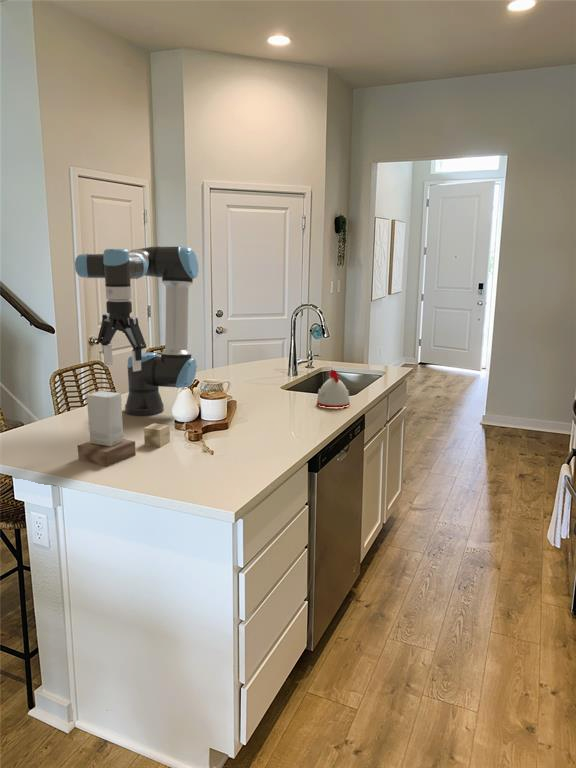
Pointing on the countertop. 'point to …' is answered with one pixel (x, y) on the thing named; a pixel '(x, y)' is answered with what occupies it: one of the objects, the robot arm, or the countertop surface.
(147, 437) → the oak cube
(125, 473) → the countertop surface
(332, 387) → the kitchen timer
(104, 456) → the walnut pedestal
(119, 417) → the skincare box
